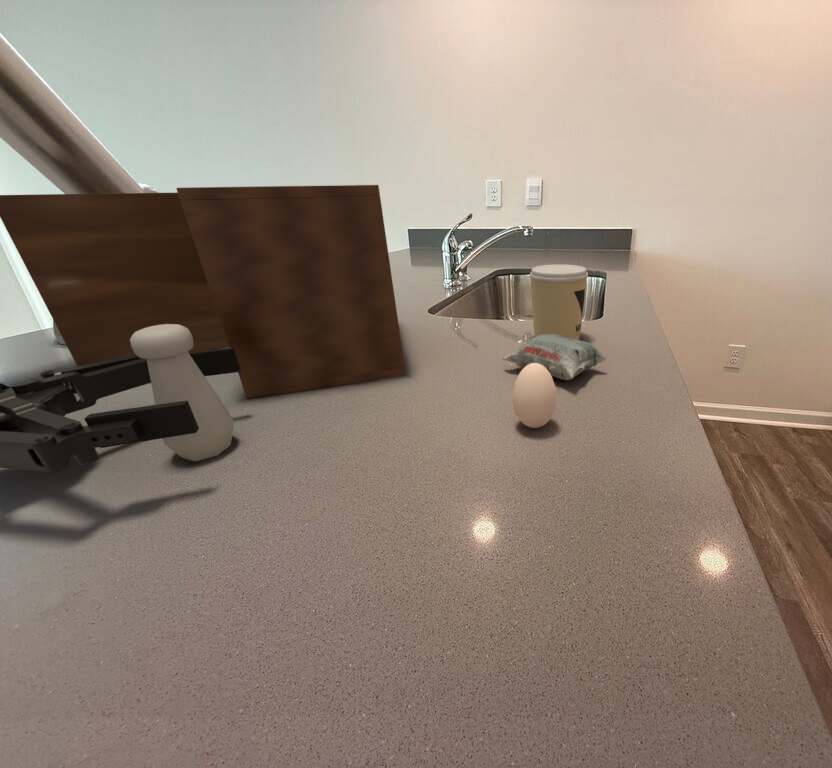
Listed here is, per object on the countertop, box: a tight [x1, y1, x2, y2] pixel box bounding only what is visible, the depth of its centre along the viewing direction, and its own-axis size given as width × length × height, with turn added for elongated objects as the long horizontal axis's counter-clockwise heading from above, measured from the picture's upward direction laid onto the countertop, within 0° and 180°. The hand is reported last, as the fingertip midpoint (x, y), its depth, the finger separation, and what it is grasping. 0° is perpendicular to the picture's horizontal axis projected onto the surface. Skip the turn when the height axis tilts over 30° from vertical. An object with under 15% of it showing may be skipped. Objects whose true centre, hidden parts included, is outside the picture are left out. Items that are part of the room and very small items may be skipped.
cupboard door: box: [0, 191, 229, 366], centre depth 65 cm, size 7×26×24 cm, turn 125°
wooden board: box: [175, 184, 407, 399], centre depth 61 cm, size 20×26×24 cm
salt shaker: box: [130, 324, 234, 462], centre depth 39 cm, size 6×6×13 cm
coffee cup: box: [529, 263, 589, 340], centre depth 68 cm, size 9×9×12 cm
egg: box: [512, 363, 558, 429], centre depth 43 cm, size 5×5×7 cm
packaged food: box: [502, 334, 607, 381], centre depth 57 cm, size 9×12×5 cm
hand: (218, 383), depth 39 cm, fingers open, 13 cm apart
